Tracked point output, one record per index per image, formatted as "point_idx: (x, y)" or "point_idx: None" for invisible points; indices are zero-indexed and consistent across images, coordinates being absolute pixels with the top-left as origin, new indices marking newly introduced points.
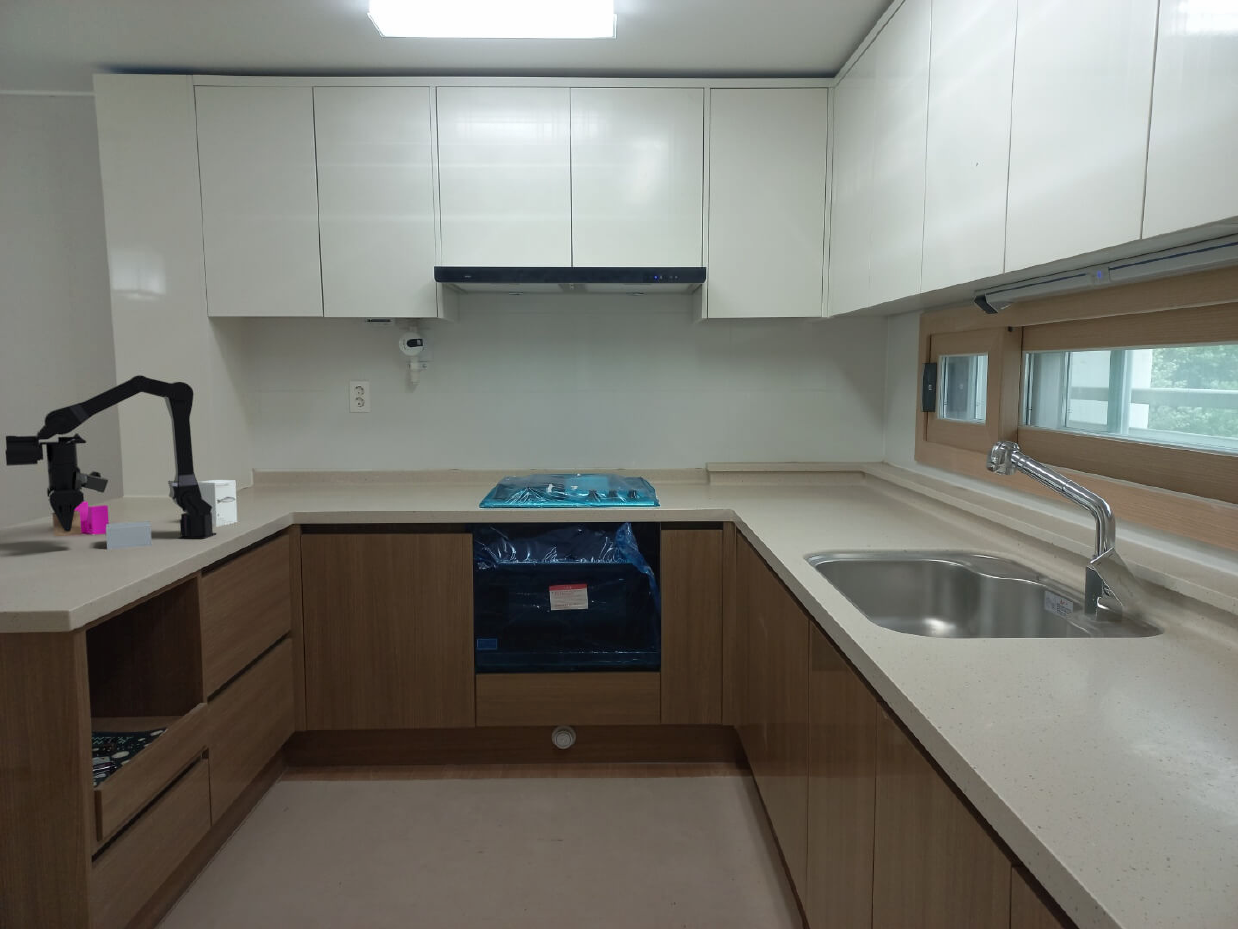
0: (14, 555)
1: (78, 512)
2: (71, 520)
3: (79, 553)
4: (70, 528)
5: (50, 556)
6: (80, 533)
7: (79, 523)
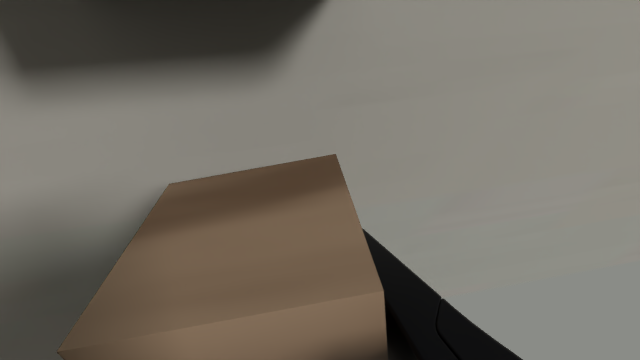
0: None
1: (287, 316)
2: (419, 281)
3: (401, 117)
4: (370, 238)
5: (400, 217)
6: (336, 161)
7: (354, 209)
